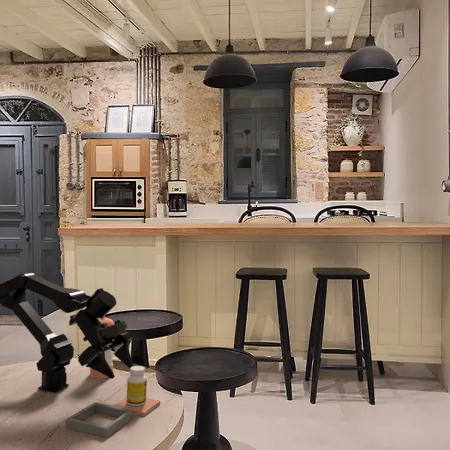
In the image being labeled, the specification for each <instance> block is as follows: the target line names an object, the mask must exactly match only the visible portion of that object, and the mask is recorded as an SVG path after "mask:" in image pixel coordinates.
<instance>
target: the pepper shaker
mask: <svg viewBox="0 0 450 450" xmlns="http://www.w3.org/2000/svg"><path fill="white" fill-rule="evenodd" d="M98 319H99V321H100V322H101V323H102V324H104V323H105V324H107V325H108V326H112V325H114V324H115V321H113V319H111V318H109V317H106V315H105V316H104V317H103V318H98ZM108 347H109V346H108ZM113 355H114V353H113V351H111V349H110V350H108V351H106V352H105V360H106V361H107V363H108V365H109V366H110V368H111V370H112V371H113V372H114V363H113ZM89 376H90V377H91V378H92V379H98V380H99V379H100V380H101V379H107V378H108V377H107V376H105V375H104V374H102V373H100V372H98V371H96V370H94V369H92V368H89Z"/></svg>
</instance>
